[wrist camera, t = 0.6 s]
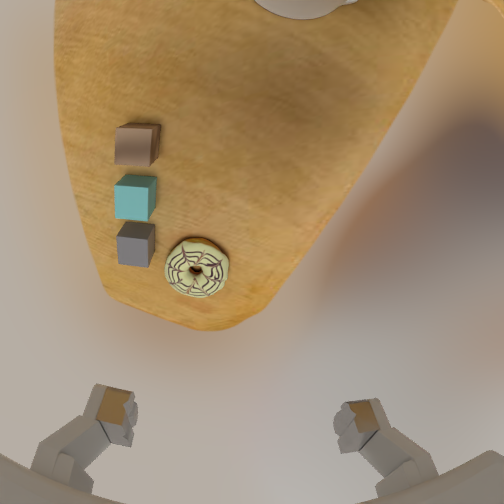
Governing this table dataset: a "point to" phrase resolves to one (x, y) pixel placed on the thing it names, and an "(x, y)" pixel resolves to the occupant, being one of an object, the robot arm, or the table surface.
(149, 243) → the charcoal cube
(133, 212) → the teal cube
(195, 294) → the decorated donut
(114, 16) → the table surface
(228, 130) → the table surface
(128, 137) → the walnut cube
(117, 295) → the table surface
